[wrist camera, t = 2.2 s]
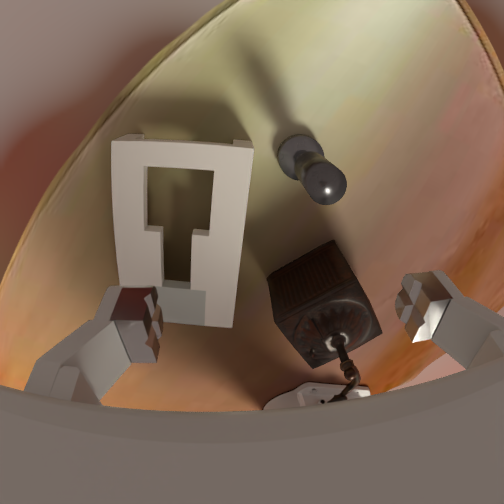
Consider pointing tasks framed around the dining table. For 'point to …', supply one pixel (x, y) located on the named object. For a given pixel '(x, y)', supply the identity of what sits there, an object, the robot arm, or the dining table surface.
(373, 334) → the manual coffee grinder
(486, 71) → the dining table surface
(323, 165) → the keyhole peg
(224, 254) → the keyhole board
